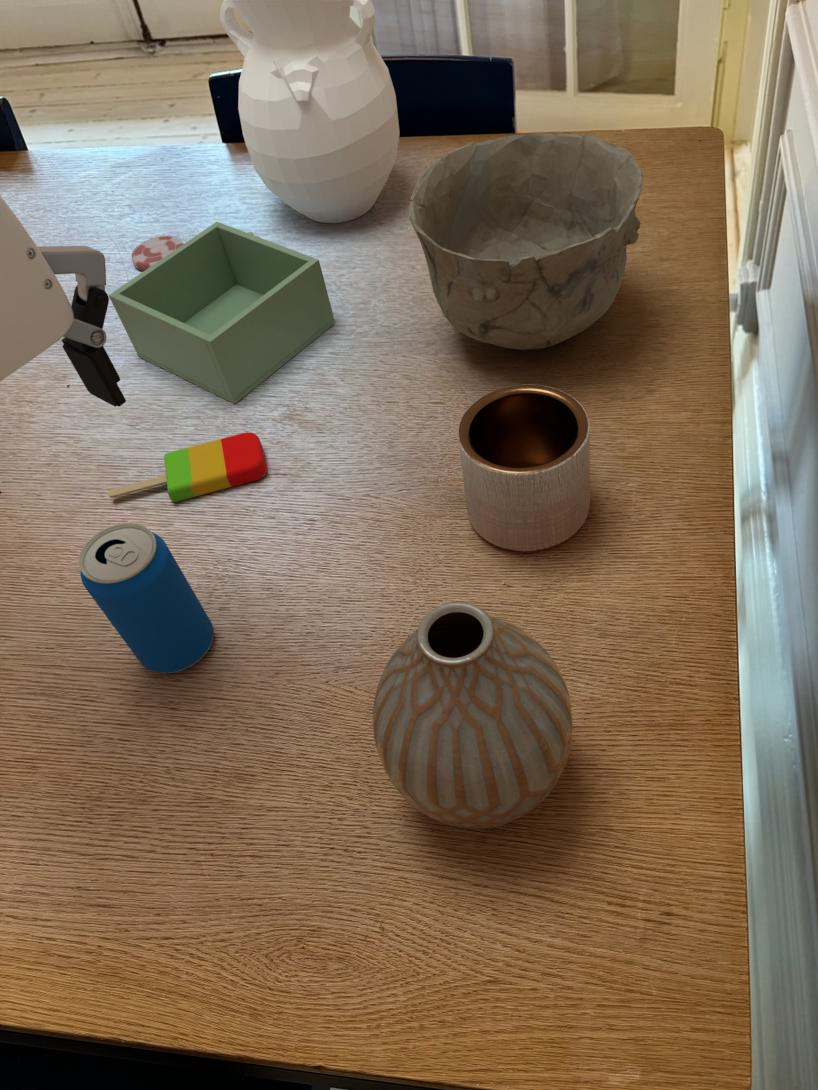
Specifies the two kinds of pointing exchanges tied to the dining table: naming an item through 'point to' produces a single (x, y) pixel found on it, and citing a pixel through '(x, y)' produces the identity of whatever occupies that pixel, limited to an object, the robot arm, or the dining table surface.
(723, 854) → the dining table surface
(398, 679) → the vase
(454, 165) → the bowl
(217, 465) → the popsicle
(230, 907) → the dining table surface
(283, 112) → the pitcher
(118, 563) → the beverage can
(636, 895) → the dining table surface
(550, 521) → the planter
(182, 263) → the bin
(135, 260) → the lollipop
